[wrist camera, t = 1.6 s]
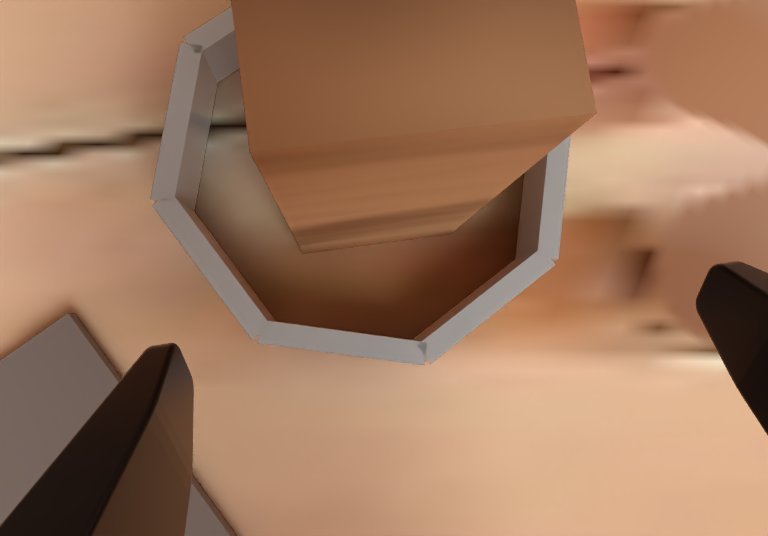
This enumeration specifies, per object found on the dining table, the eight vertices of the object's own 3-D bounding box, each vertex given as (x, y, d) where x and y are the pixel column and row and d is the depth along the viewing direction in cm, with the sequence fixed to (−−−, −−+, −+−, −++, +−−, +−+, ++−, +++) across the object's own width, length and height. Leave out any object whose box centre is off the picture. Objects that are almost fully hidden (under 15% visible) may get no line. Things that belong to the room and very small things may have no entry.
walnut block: (450, 233, 22) (596, 113, 9) (303, 253, 21) (249, 152, 9) (427, 93, 22) (537, -197, 10) (284, 109, 22) (208, -179, 9)
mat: (263, 571, 20) (261, 578, 19) (26, 764, 18) (17, 777, 18) (74, 313, 20) (67, 313, 20) (-170, 484, 19) (-184, 488, 18)
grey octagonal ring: (522, 374, 21) (546, 381, 19) (152, 325, 20) (126, 325, 18) (557, 34, 23) (583, -1, 20) (217, -26, 22) (201, -70, 19)
